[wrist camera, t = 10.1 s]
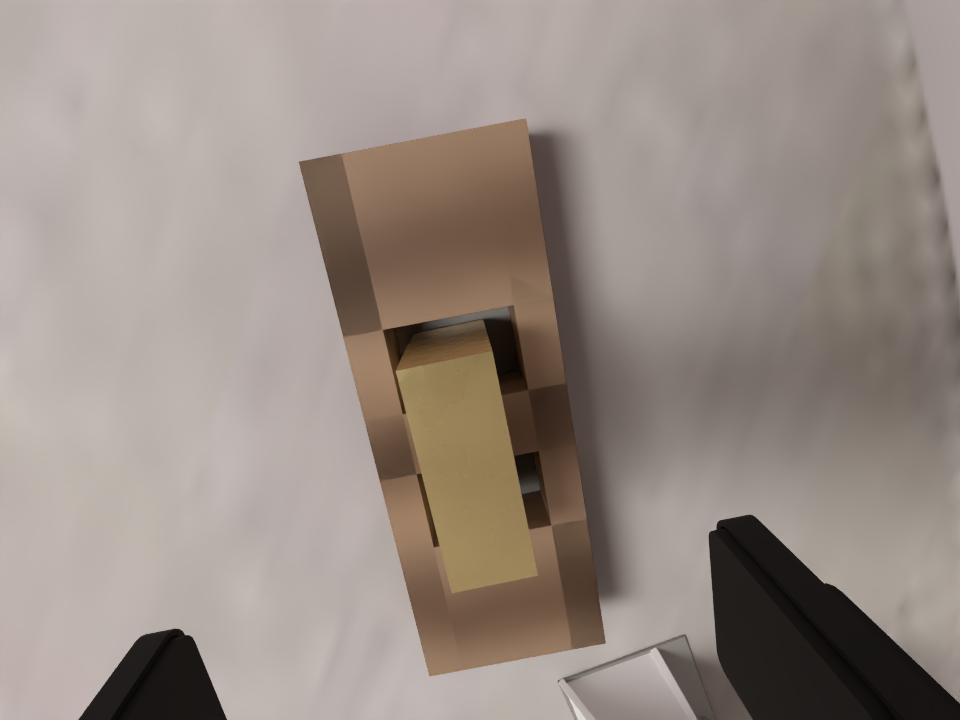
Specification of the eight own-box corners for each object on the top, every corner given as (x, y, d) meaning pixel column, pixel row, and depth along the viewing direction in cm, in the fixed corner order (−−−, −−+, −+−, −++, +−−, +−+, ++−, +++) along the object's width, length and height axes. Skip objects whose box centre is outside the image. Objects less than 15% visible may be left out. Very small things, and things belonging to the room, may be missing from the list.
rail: (320, 171, 21) (298, 161, 18) (516, 134, 21) (525, 118, 18) (432, 627, 26) (429, 676, 23) (589, 597, 26) (605, 643, 23)
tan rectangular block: (413, 331, 22) (395, 370, 16) (482, 317, 22) (492, 350, 16) (452, 498, 24) (451, 593, 18) (516, 484, 24) (537, 575, 18)
